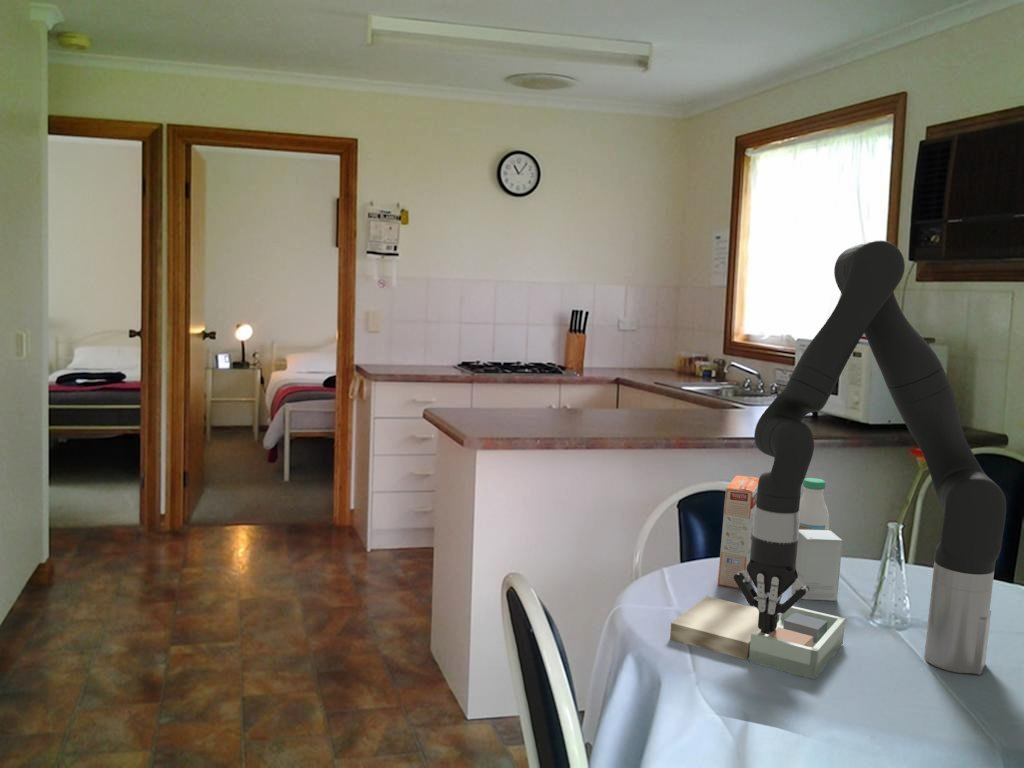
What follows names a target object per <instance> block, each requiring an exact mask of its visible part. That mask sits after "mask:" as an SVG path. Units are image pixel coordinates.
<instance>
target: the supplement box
mask: <svg viewBox="0 0 1024 768" xmlns="http://www.w3.org/2000/svg"><path fill="white" fill-rule="evenodd" d="M842 548H843V539H842V538H840V537H839V536H838V535H837V534H835V533H834V532H833V531H832V530H830V529H829V530H799V536H798V547H797V558H796V571H797V574H798V578H797V579H798V580H799V581H800V582H801V583H802V584H803V585H807V586H808V587H809V591H808V592H807V593H806V594H805V595H804V596H803V597H802V598H801V599H802V600H811V601H813V600H815V601H832V602H833V601H837V600H838V598H839V597H838V595H839V586H840V585H839V584H840V573H841V572H840V571H841V561H842V560H841V559H842ZM791 588H792V589H793V584H792V585H791Z"/></svg>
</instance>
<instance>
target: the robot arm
mask: <svg viewBox="0 0 1024 768" xmlns="http://www.w3.org/2000/svg"><path fill="white" fill-rule="evenodd" d="M905 266H906V265H905V258H904V256H903V254H902V252H901V250H900V249H899V248H898V247H897V246H896V245H895V244H893V243H891V242H889V241H886V240H881V239H880V240H879V239H878V240H870V241H866V242H862V243H860V244H857V245H856V244H855V245H854V246H851V247H848V248H846V249H845V250H844V251H843V252H841V254H840V255H838V257H837V259H836V261H835V264H834V268H833V272H834V281H835V283H836V285H837V288H838V289H839V292H840V294H841V296H840V298H839V300H838V302H837V304H836V306H835V307H834V309H833V311H832V313H831V314H830V316H829V317H828V319H827V320H826V322H825V323H824V324H823V325H822V327H821V328H820V330H818V332H817V333H816V335H815V336H814V337H813V338H812V340H811V341H810V342H809V344H808V345H807V347H806V348H805V350H804V351H803V353H802V354H801V356H800V357H799V360H798V362H797V364H796V366H795V368H794V369H793V371H792V374H791V375H790V377H789V379H788V382H787V383H786V386H784V389H782V391H780V393H779V394H778V395H777V396H775V398H774V400H773V401H772V402H771V403H770V404H769V406H767V408H766V409H765V411H764V412H763V413H762V415H761V416H760V417H759V419H758V421H757V423H756V426H755V429H754V437H753V438H754V443H755V447H756V448H757V449H758V450H759V451H760V452H761V453H763V454H765V455H768V456H770V457H773V458H774V460H773V463H772V468H771V470H770V471H769V470H768V471H765V472H763V473H762V474H761V475H760V476H759V477H758V478H759V481H758V488H757V501H756V509H755V514H754V518H753V525H752V541H751V553H750V562H749V563H748V565H747V567H746V569H745V570H743V571H739V572H738V573H736V574H735V575H734V580H735V582H736V583H737V585H738V587H739V588H740V589H739V590H740V592H741V594H742V595H743V597H744V598H745V600H746V602H747V603H748V606H750V607H754V608H757V609H758V610H759V619H758V628H759V629H761V633H764V634H768V635H770V634H771V633H772V632H773V631H775V630H776V628H777V619H778V613H780V614H781V613H785V612H786V611H787V610H788V609H790V608H791V607H792V606H795V604H796V603H798V602H799V600H801V599H802V597H803V596H804V595H805V594H806V593H807V592H808V591H809V587H808V586H807V585H803V584H802V583H801V582H800V581H799V580H798V579H797V578H798V574H797V571H796V558H797V547H798V536H799V507H800V500H801V494H802V493H801V491H802V487H803V481H804V479H806V476H807V474H808V470H809V467H810V464H811V462H812V458H813V455H814V451H815V450H814V448H815V440H814V434H813V432H812V429H811V428H810V427H809V425H807V424H806V423H804V422H803V421H802V420H803V419H804V418H805V417H806V416H807V415H809V414H810V413H817V412H820V411H821V410H823V408H824V407H825V405H826V404H827V403H828V400H829V398H830V396H831V395H832V393H833V391H834V388H835V387H836V385H837V384H838V381H839V378H840V377H841V375H842V373H843V371H844V369H845V367H846V365H847V363H848V361H849V359H850V357H852V354H853V352H854V351H855V349H856V348H857V345H858V344H859V342H860V340H861V339H862V337H863V335H865V338H866V340H867V342H868V346H869V348H870V349H871V353H872V355H873V357H874V359H875V361H876V364H877V366H878V368H879V371H880V372H881V376H882V377H883V380H884V382H885V385H886V387H887V389H888V392H889V393H890V396H891V399H892V400H893V402H894V405H895V407H896V408H897V411H898V412H899V414H900V416H901V418H902V420H903V422H904V424H905V425H906V427H907V430H908V432H909V433H910V435H911V436H912V438H913V439H914V441H915V442H916V444H917V446H918V448H919V450H920V452H921V453H922V456H923V459H924V461H925V463H926V466H927V469H928V472H929V475H930V478H931V482H932V484H933V487H934V491H935V494H936V497H937V501H938V504H939V506H940V508H941V510H942V511H943V513H944V516H943V523H942V532H941V538H940V542H939V543H938V544H937V545H936V547H935V552H934V561H933V562H934V564H933V571H932V580H931V581H932V582H931V591H930V600H929V608H928V618H927V630H926V639H925V644H924V659H925V660H926V661H927V662H928V664H929V663H930V664H931V665H933V666H934V667H937V668H939V669H942V670H945V671H948V672H953V673H959V674H973V675H979V676H980V675H982V673H983V669H984V668H985V664H986V660H987V659H986V658H987V650H988V641H989V633H990V626H991V615H992V611H991V605H992V604H991V603H992V593H993V584H994V578H995V577H994V575H995V568H996V563H997V562H996V561H997V560H998V558H999V556H1000V553H1001V550H1002V544H1003V536H1004V529H1005V522H1006V514H1007V500H1006V495H1005V494H1004V492H1003V490H1002V488H1001V487H1000V485H998V484H997V482H995V481H993V480H992V479H991V478H990V477H989V476H988V475H987V474H986V473H985V471H984V470H983V468H982V467H981V465H980V463H979V462H978V459H977V458H976V456H975V455H974V452H973V451H972V449H971V447H970V445H969V444H968V441H967V438H966V436H965V434H964V430H963V426H962V422H961V417H960V411H959V407H958V402H957V399H956V396H955V393H954V390H953V387H952V385H951V382H950V380H949V377H948V376H947V373H946V371H945V369H944V367H943V364H942V362H941V360H940V359H939V357H938V355H937V353H935V351H934V349H933V348H932V347H931V346H930V345H929V344H928V342H927V341H926V340H925V339H924V338H923V336H921V335H920V333H919V332H918V331H917V330H916V329H915V328H914V327H913V326H912V324H911V323H910V322H909V320H908V318H906V317H905V315H904V313H903V311H902V309H901V307H900V305H899V302H898V301H897V298H896V296H895V293H894V291H895V290H896V288H897V287H898V285H899V284H900V283H901V282H902V279H903V276H904V273H905ZM751 581H752V582H751ZM752 583H753V584H752ZM792 584H793V588H792V589H791V593H792V595H791V596H790V597H789V598H788V599H787V600H786V601H785V602H783V603H781V600H782V597H783V594H785V592H786V591H787V590H788V589H789V588H791V587H792ZM753 585H754V586H755V588H756V589H755V588H754V586H753Z"/></svg>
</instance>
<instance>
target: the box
mask: <svg viewBox="0 0 1024 768" xmlns="http://www.w3.org/2000/svg"><path fill="white" fill-rule="evenodd" d="M793 613H798V614H802V615H806V616H810V617H813V618H817V619H821V620H825V621H828V623H827V632H826V633H825V634H824V635H823V637H822V638H821V639H820V640H819V641H818V642H817V643H814V642H813V644H812V648H811V647H807V646H803V645H800V644H796V643H792V642H788V641H784V640H780V639H776V638H772V637H768V636H769V635H768V634H765V635H760V634H756V633H752V634H751V640H750V653H749V658H748V663H752V664H756V665H760V666H763V667H767V668H771V669H774V670H778V671H782V672H784V673H785V672H786V673H790V674H793V675H797V676H801V677H804V678H807V679H812V680H814V681H815V680H816V679H817V677H818V676H819V675H820V674H821V672H822V671H823V670H824V669H825V667H826V666H827V664H829V663H830V661H831V660H832V659H831V658H833V657H834V656H835V655H836V654H837V652H838V651H839V650H840V649H841V648H842V646H843V645H844V637H845V628H846V627H845V625H846V618H845V617H841V616H837V615H832V614H828V613H825V612H820V611H816V610H812V609H807V608H804V607H803V608H802V607H799V606H795V605H793V606H792V607H791V608H790V609H788V610H787V611H786V612H785V613H780V614H781V615H780V619H779V622H778V623H777V628H778V627H779V628H783V626H784V620H785V619H786V618H788V617H789V616H790V615H792V614H793ZM777 628H776V629H777ZM842 644H843V645H842ZM841 645H842V646H841ZM839 648H840V649H839ZM838 649H839V650H838ZM837 650H838V651H837ZM835 653H836V654H835ZM834 654H835V655H834ZM833 655H834V656H833ZM830 659H831V660H830Z"/></svg>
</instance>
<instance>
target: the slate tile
mask: <svg viewBox="0 0 1024 768" xmlns="http://www.w3.org/2000/svg"><path fill="white" fill-rule="evenodd" d="M827 623H828V621H825V620H821V619H817V618H813V617H810V616H806V615H802V614H798V613H793V614H792V615H790V616H789V617H788V618H786V619H785V620H784V626H783V629H787V630H791V631H794V632H798V633H802V634H806V635H809V636H813V642H814V643H817V642H818V641H819V640H820V639H821V638H822V637H823V635H824V634H825V633H826V632H827Z"/></svg>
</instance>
